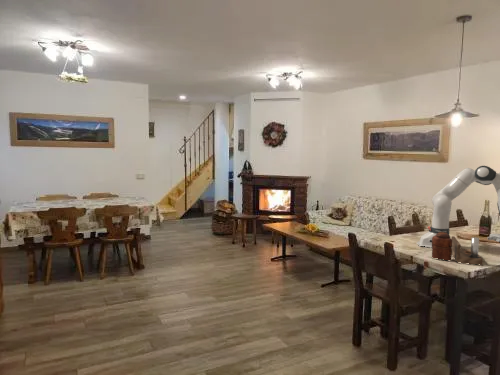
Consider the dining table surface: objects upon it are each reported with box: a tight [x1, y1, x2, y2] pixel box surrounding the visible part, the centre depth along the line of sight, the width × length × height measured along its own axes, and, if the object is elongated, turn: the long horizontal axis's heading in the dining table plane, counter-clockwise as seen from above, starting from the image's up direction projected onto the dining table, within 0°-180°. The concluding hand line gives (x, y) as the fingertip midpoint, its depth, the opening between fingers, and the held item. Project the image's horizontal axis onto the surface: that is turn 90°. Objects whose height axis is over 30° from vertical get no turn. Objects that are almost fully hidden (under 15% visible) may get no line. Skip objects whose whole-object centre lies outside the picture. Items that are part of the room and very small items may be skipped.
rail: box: [451, 235, 484, 266], centre depth 233 cm, size 14×24×12 cm, turn 159°
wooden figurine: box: [431, 232, 453, 261], centre depth 232 cm, size 12×6×18 cm, turn 57°
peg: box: [470, 236, 480, 258], centre depth 223 cm, size 4×4×12 cm
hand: (494, 240), depth 224 cm, fingers open, 8 cm apart
